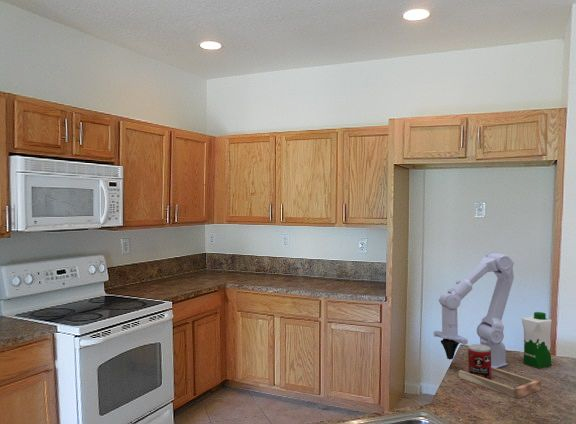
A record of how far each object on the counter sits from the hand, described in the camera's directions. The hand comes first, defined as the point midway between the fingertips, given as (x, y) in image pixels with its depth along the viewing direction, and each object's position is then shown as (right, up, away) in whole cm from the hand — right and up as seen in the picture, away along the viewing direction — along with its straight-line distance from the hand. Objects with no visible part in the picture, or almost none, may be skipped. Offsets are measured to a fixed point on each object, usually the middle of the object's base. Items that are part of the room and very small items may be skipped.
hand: (450, 358), depth 177 cm
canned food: (+7, -3, -11) cm, 13 cm away
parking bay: (+11, -3, -17) cm, 20 cm away
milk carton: (+35, -3, +1) cm, 35 cm away
